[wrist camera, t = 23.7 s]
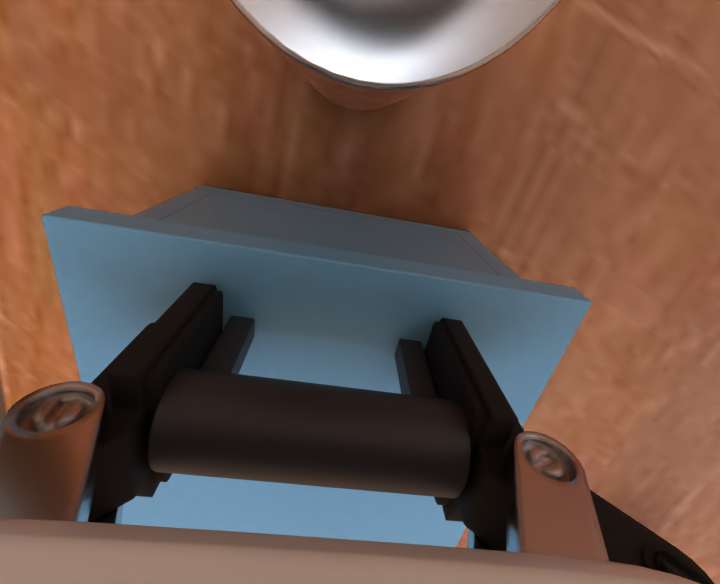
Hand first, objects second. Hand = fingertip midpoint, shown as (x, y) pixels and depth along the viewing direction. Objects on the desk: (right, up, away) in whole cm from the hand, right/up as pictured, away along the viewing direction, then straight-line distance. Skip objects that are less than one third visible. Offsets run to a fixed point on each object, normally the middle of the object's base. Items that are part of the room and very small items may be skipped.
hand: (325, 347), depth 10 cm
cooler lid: (-1, -5, +4) cm, 6 cm away
